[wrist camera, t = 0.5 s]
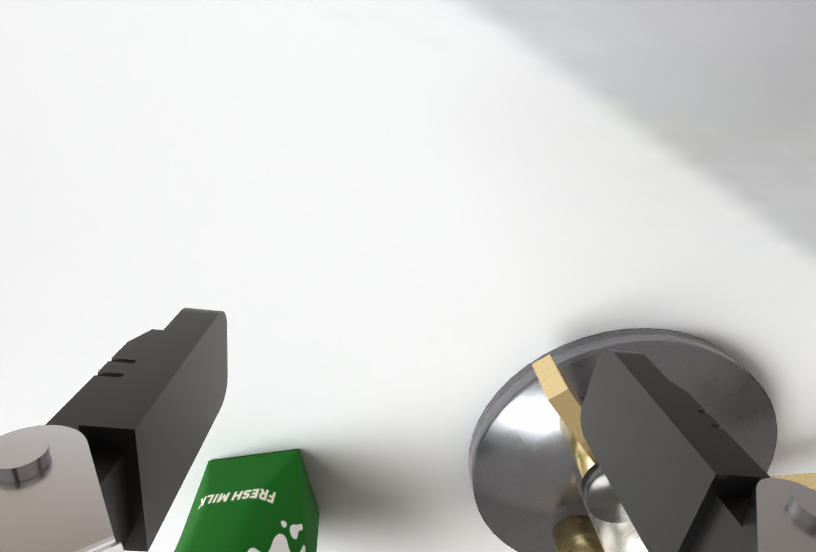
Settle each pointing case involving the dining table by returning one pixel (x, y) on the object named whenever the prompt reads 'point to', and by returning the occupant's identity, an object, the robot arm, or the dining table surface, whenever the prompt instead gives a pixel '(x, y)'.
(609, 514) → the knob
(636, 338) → the base
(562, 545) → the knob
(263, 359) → the dining table surface
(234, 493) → the milk carton
